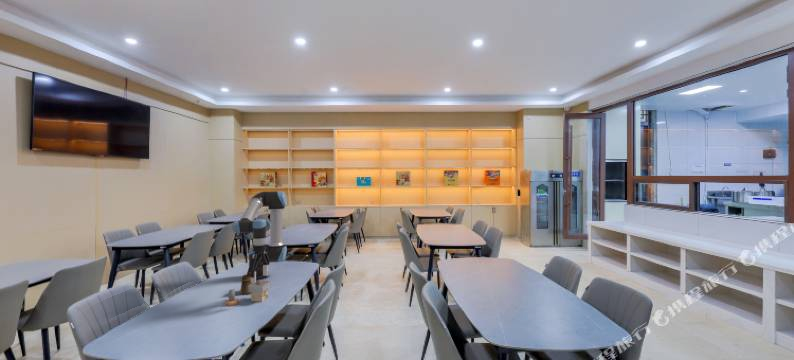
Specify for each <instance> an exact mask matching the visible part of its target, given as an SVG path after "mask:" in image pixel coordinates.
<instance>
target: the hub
mask: <svg viewBox="0 0 794 360" xmlns="http://www.w3.org/2000/svg"><path fill="white" fill-rule="evenodd" d="M235 291H236V290H235V289H234V288H233V289H229V290H228V298H227V299H225V301H224V306H225V307H232V306H233V307H234V306H237V305H238V304H239V301H240V300H239V298H238V297H236V292H235Z"/></svg>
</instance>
